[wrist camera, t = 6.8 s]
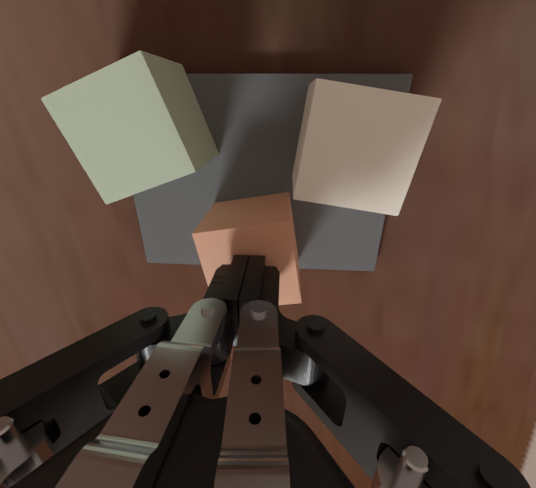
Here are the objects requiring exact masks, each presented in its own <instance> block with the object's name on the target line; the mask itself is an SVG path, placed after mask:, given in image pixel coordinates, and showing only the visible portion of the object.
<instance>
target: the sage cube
mask: <svg viewBox="0 0 536 488" xmlns="http://www.w3.org/2000/svg"><path fill="white" fill-rule="evenodd" d="M41 100H42V101H43V103H44V105H45V106H46V108H47V110H48V111H49V113H50V114H51V116H52V118H53V119H54V121H55V123H56V124H57V126H58V127H59V129H60V131H61V132H62V134H63V136H64V137H65V139H66V140H67V142H68V144H69V145H70V147H71V149H72V150H73V152H74V153H75V155H76V157H77V158H78V160H79V162H80V163H81V165H82V166H83V168H84V170H85V171H86V173H87V175H88V176H89V178H90V179H91V181H92V183H93V184H94V186H95V188H96V189H97V191H98V192H99V194H100V196H101V197H102V199H103V201H104V202H105V204H106V205H107V204H109V203H112V202H115V201H118V200H120V199H123V198H126V197H129V196H131V195H134V194H137V193H139V192H142V191H145V190H148V189H150V188H153V187H156V186H159V185H161V184H164V183H167V182H170V181H172V180H175V179H178V178H180V177H183V176H186V175H189V174H191V173H194V172H196V171H198V170H199V169H200V168H202V167H203V166H204V165H205V164H207V163H208V162H209V161H211V160H212V159H213V158H215V157H216V156H217V155H218V154H219V152H218V150H217V148H216V145H215V143H214V140H213V138H212V135H211V133H210V131H209V128H208V126H207V123H206V121H205V118H204V116H203V114H202V111H201V109H200V106H199V104H198V101H197V99H196V97H195V94H194V92H193V89H192V87H191V84H190V82H189V80H188V77H187V75H186V72H185V70H184V68H183V65H182V64H179V63H176V62H174V61H171V60H168V59H165V58H162V57H159V56H156V55H153V54H150V53H147V52H144V51H141V50H140V51H138V52H135V53H133V54H131V55H129V56H127V57H125V58H123V59H121V60H119V61H117V62H115V63H113V64H111V65H109V66H106V67H104V68H102V69H100V70H98V71H96V72H94V73H92V74H90V75H88V76H86V77H84V78H82V79H80V80H78V81H75V82H73V83H71V84H69V85H67V86H65V87H63V88H61V89H59V90H57V91H55V92H53V93H51V94H49V95H46V96H44V97H42V98H41Z"/></svg>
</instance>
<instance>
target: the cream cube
mask: <svg viewBox="0 0 536 488" xmlns="http://www.w3.org/2000/svg"><path fill="white" fill-rule="evenodd" d="M441 100H442V99H441V98H434V97H428V96H422V95H416V94H410V93H404V92H398V91H392V90H386V89H380V88H374V87H368V86H362V85H356V84H349V83H343V82H337V81H331V80H325V79H319V78H316V79H315V80H314V81H312V82H311V83H310V84H309V86H308V92H307V97H306V102H305V108H304V113H303V119H302V124H301V130H300V135H299V140H298V146H297V151H296V157H295V162H294V168H293V173H292V182H293V199H295V200H301V201H307V202H313V203H320V204H326V205H332V206H338V207H344V208H351V209H357V210H363V211H369V212H375V213H382V214H388V215H394V216H398V215H399V212H400V209H401V207H402V204H403V201H404V199H405V196H406V193H407V191H408V188H409V185H410V183H411V180H412V177H413V175H414V172H415V169H416V167H417V164H418V161H419V159H420V156H421V153H422V150H423V148H424V145H425V142H426V140H427V137H428V134H429V132H430V129H431V126H432V124H433V121H434V118H435V116H436V113H437V110H438V108H439V105H440V102H441Z"/></svg>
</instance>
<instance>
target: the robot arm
mask: <svg viewBox="0 0 536 488" xmlns="http://www.w3.org/2000/svg"><path fill="white" fill-rule="evenodd" d="M279 283H280V272H279V270H278V269H277V267H276V266H266V256H261V255H234V256H233V259H232V262H231V264H222V265H221V266H220V267H219V268H217V269H216V271H215V273H214V275H213V278H212V280H211V283H210V285H209V287H208V289H207V291H206V294H205V296H204V298H203V299H202V300H200V301H198V302H196V303H195V304H193V305H192V307H191V308H190V310H189V312H188V313H187V314H183V315H178V316H172V317H168V313H167V311H166V310H165V309H163V308H160V307H149V308H145V309H142V310H140V311H138V312H136V313H134V314H132V315H129V316H127V317H125V318H123V319H121V320H119V321H117V322H115V323H113V324H111V325H109V326H107V327H105V328H103V329H101V330H99V331H97V332H95V333H93V334H91V335H89V336H87V337H85V338H83V339H81V340H79V341H77V342H75V343H73V344H71V345H69V346H67V347H65V348H63V349H61V350H59V351H57V352H55V353H53V354H51V355H49V356H47V357H45V358H43V359H41V360H39V361H37V362H35V363H33V364H31V365H29V366H27V367H25V368H23V369H21V370H19V371H17V372H15V373H13V374H11V375H9V376H7V377H5V378H3V379H1V380H0V488H355V487H354V486H353V484H352V483H351V482H350V480H349V479H348V478H347V476H346V475H345V474H344V472H343V471H342V470H341V468H340V467H339V466H338V464H337V463H336V462H335V460H334V459H333V458H332V456H331V455H330V454H329V452H328V451H327V450H326V448H325V447H324V446H323V444H322V443H321V442H320V440H319V439H318V438H317V436H316V435H315V434H314V432H313V431H312V430H311V429H310V427H309V426H308V425H307V424H306V423H305V422H304V421H302V420H301V419H300V418H299V417H298V416H296V415H295V414H293V413H291V412H290V411H288V410H286V409H284V395H283V379H282V378H284V379H287V380H290V381H292V383H293V387H294V389H295V390H296V391H297V393H298V394H299V395H300V396H301V397H302V398H303V400H304V401H305V402H306V403H307V404H308V405H309V407H310V408H311V409H312V410H313V411H314V412H315V414H316V415H317V416H318V417H319V418H320V419H321V421H322V422H323V423H324V424H325V425H326V427H327V428H328V429H329V430H330V431H331V432H332V434H333V435H334V436H335V437H336V438H337V439H338V441H339V442H340V443H341V444H342V445H343V446H344V448H345V449H346V450H347V451H348V452H349V453H350V455H351V456H352V457H353V458H354V459H355V460H356V462H357V463H358V464H359V465H360V466H361V467H362V469H363V470H364V471H365V472H366V473H367V475H368V476H369V477H370V478H371V479H372V483H371V488H530V486H529V484H528V482H527V481H526V479H525V478H524V476H523V475H522V474H521V473H520V472H519V470H518V469H517V468H516V467H515V466H514V465H513V464H512V463H510V462H509V461H508V460H507V459H506V458H504V457H503V456H502V455H501V454H499V453H498V452H497V451H495V450H494V449H493V448H492V447H490V446H489V445H488V444H487V443H485V442H484V441H483V440H481V439H480V438H479V437H478V436H476V435H475V434H474V433H472V432H471V431H470V430H469V429H467V428H466V427H465V426H464V425H462V424H461V423H460V422H458V421H457V420H456V419H455V418H453V417H452V416H451V415H449V414H448V413H447V412H446V411H444V410H443V409H442V408H441V407H439V406H438V405H437V404H435V403H434V402H433V401H432V400H430V399H429V398H428V397H426V396H425V395H424V394H423V393H421V392H420V391H419V390H418V389H416V388H415V387H414V386H412V385H411V384H410V383H409V382H407V381H406V380H405V379H403V378H402V377H401V376H400V375H398V374H397V373H396V372H395V371H393V370H392V369H391V368H389V367H388V366H387V365H386V364H384V363H383V362H382V361H380V360H379V359H378V358H377V357H375V356H374V355H373V354H372V353H370V352H369V351H368V350H366V349H365V348H364V347H363V346H361V345H360V344H359V343H357V342H356V341H355V340H354V339H352V338H351V337H350V336H349V335H347V334H346V333H345V332H343V331H342V330H341V329H340V328H338V327H337V326H336V325H334V324H333V323H332V322H331V321H329V320H328V319H326V318H324V317H321V316H317V315H308V316H304V317H302V318H300V319H299V320H298V321H297V322H296V321H293V320H290V319H288V318H286V317H284V316H283V315H282V314H281V313H280V311H279ZM232 346H237V347H234V351H233V359H232V367H231V374H230V382H229V390H228V397H223V398H219V395H220V392H221V389H222V386H223V383H224V379H225V376H226V373H227V370H228V367H229V364H230V354H231V350H232ZM135 354H136V357H137V362H136V363H134V364H133V365H131V366H129V367H128V368H126V369H124V370H123V371H121V372H120V373H118V374H116V375H115V376H113V377H111V378H110V379H108V380H107V381H105V382H103V383H102V384H99V385H98V380H99V378H100V377H101V376H102V375H103V374H104V373H105V372H106V371H108V370H109V369H111V368H113V367H114V366H116V365H118V364H119V363H121V362H123V361H124V360H126V359H128V358H130V357H131V356H133V355H135Z"/></svg>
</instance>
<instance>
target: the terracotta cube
mask: <svg viewBox="0 0 536 488" xmlns="http://www.w3.org/2000/svg"><path fill="white" fill-rule="evenodd" d="M192 236H193V239H194V242H195V246H196V249H197V252H198V255H199V259H200V262H201V265H202V268H203V272H204V275H205V278H206V281H207V284H208V287H209V285H210V283H211V280H212V278H213V275H214V273H215V271H216V269H217V268H219V267H220V266H221V265H222V264H231V262H232V259H233V256H234V255H261V256H266V266H276V267H277V269H278V270H279V272H280V283H279V305H285V304H296V303H301V289H300V273H299V258H298V251H297V244H296V237H295V230H294V223H293V216H292V209H291V202H290V195H289V192H284V193H278V194H271V195H264V196H257V197H250V198H244V199H237V200H230V201H223V202H216V203H214V204H213V205H212V207H211V208H210V209H209V211H208V212H207V214H206V215H205V216H204V218H203V219H202V220H201V222H200V223H199V225H198V226H197V227H196V229H195V230H194V231H193V233H192Z"/></svg>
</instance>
